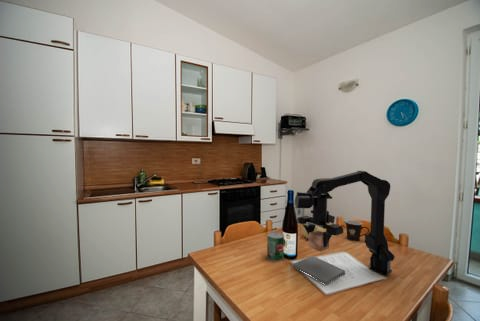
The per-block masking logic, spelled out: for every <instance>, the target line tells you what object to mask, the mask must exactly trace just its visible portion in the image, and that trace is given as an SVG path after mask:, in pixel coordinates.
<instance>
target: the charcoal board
mask: <svg viewBox="0 0 480 321" xmlns="http://www.w3.org/2000/svg"><path fill="white" fill-rule="evenodd" d="M292 268H294V269H295V270H297V271H299V270H301V271H303V272H305V273H307V274H309V275H311V276H312V277H314V278H315V279H317V280H318V281H320V282H322V283H324V284H325V285H326V284H327V285H329V284H330V283H329V282H331V281H332V282H334V281H335V279H336V278H338V277H339V278H341V277H343V276H345V275H346V270H344V269H342V267H341V268H340V267H338V266H337V265H333V264H332V263H330V262H327V261H326V260H323V259H321V258H319V257H317V256H314V255H310V256H307V257H306V258H303V259H301V260H299V261H297V262H294V263H293V264H292ZM301 271H300V272H301ZM342 275H343V276H342ZM340 276H341V277H340ZM339 278H338V279H339ZM315 279H314V280H315ZM317 280H316V281H317ZM333 280H334V281H333ZM336 280H337V279H336ZM318 281H317V282H318ZM320 282H319V283H320ZM332 282H331V283H332ZM322 283H321V284H322ZM328 283H329V284H328ZM324 284H323V285H324ZM325 285H324V286H325ZM327 285H326V286H327Z"/></svg>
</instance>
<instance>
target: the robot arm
mask: <svg viewBox="0 0 480 321" xmlns="http://www.w3.org/2000/svg"><path fill="white" fill-rule="evenodd" d="M358 182H361V183H362V184H363V185H365V186H367V190H368V191H367V192H368V194H369V196H370V199H371V207H370V229H369V233H368V234H366V233H364V234H365V235H364V242H363V243H364V244H365V246H366V248H368V251H369V252H370V253H371V255H370V258H369V260H370V261H369V262H370V263H369V270H371V271H374V272H376V273H378V274H381V275H384V276H388V274H390V273H392V272H393V270H392V269H391V262H393V261H394V259H395V258H396V256H395V254H394V253H392V252H391V250H390V249H389V244H388V243H389V242H388V240H387V237H386V235H385V210H386V209H385V206H386V199H387V198H388V197H389V196H390V191H391V184H390V182H389V181H388V180H386V179H381V178H379V177H377V176H374V175H372V174H371V173H369V172H368V171H365V170H356V171H355V172H351V173H347V174H343V175H340V176H336V177H335V176H334V177H331V178H329V177H328V178H327V177H326V178H325V177H323V178H316V179H314V180H313V181H312V182H311V186H310V187H309V188H308V189H307V190H306V192H301V191H297V192H296V195H295V198H294V206H295V208H296V209H311V208H312V209H311V210H310V213H311V214H312V217H311V216H309V215H301V216H299V217H298V220H297V223H298V224H300V225H301V226H302V225H303V227H305V229H306V231H307V233H308V235H309V233H310V232H313V231H314V229H315V226H318V227H321V228H323V230H325V231H324V232H323V243H324V247H327V244H328V242H329V243H330V240H331V238H332V236H334V237H335V236H336V237H337V236H339V235H342V234H344V227H343V226H342V225H339V224H336V223H335V220H336V216H334V215H332V214H330V211H328V209H327V208H328V200H333V196H331V194H330V192H332V191H334V190H335V189H337V188H340V187H344V186H346V185H351V184H356V183H358Z"/></svg>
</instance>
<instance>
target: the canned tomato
mask: <svg viewBox="0 0 480 321" xmlns="http://www.w3.org/2000/svg"><path fill="white" fill-rule="evenodd" d="M284 235H285V234H284V233H282V232H279V231H277V232H276V231H271V232H268V233H267V244H266V245H267V250H266V251H267V252H266V254H267V256H266V257H267V259H269V260H270V261H271V262H272V261H273V262H280V261H283V260H284V258H285V257H284V254H285V253H284V251H285V250H284V247H285V246H284V244H285V236H284Z"/></svg>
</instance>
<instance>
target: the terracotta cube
mask: <svg viewBox="0 0 480 321" xmlns="http://www.w3.org/2000/svg"><path fill="white" fill-rule="evenodd" d="M308 247H309V248H311V249H314V250H316V251H318V252H324V251H326V250H328V249H330V241H329V242H328V244H327V247H324V243H323V232H321V231H318V230H317V231H313V232H310V233H309V239H308Z"/></svg>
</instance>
